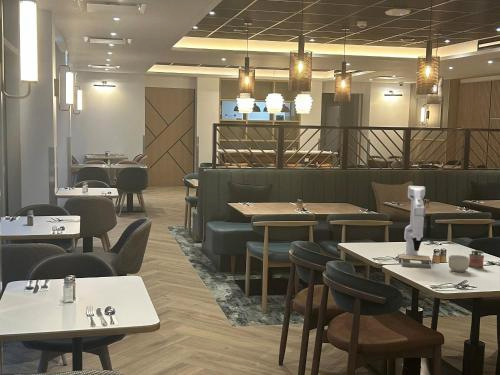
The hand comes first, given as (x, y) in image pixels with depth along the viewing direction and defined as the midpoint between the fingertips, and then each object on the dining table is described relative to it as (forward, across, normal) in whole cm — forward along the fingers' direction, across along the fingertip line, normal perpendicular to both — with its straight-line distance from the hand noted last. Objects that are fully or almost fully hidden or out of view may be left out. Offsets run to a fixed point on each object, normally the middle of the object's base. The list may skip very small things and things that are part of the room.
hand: (416, 250), depth 346 cm
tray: (+8, +1, 0) cm, 8 cm away
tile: (+6, +3, 0) cm, 6 cm away
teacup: (+9, +6, +22) cm, 24 cm away
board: (+8, -10, 0) cm, 13 cm away
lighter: (+9, -6, +34) cm, 35 cm away
